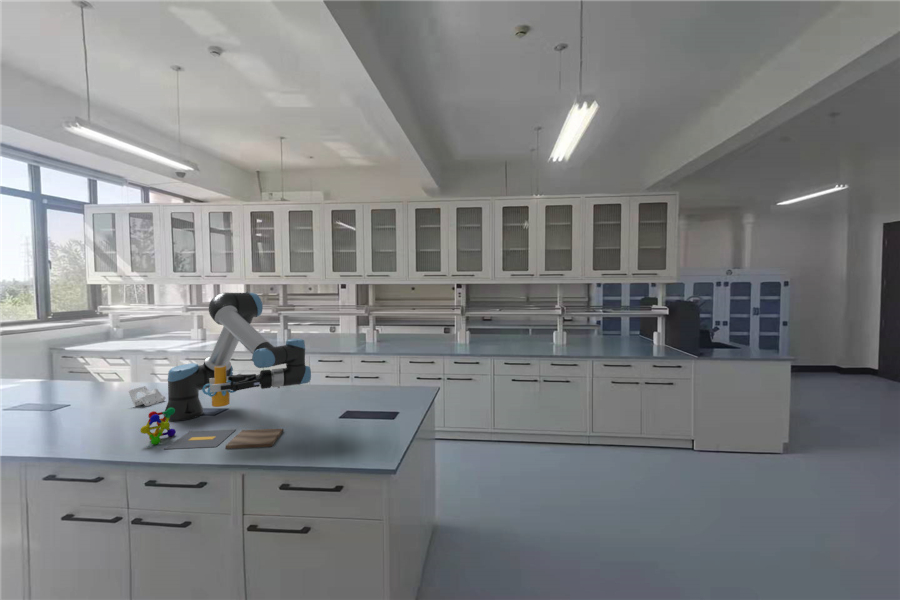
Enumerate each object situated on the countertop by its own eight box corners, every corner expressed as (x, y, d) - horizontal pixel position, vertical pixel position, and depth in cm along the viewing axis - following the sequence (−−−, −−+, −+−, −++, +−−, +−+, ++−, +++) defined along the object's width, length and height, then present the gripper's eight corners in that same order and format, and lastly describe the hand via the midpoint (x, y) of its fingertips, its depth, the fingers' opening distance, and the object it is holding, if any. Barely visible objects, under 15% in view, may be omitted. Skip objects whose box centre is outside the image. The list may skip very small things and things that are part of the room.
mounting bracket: (157, 403, 206) (150, 385, 207) (167, 399, 205) (159, 380, 206) (136, 410, 194) (128, 390, 195) (146, 406, 193) (138, 386, 194)
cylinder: (220, 410, 145) (219, 370, 144) (196, 408, 147) (195, 369, 146) (243, 401, 157) (243, 364, 156) (221, 399, 159) (221, 363, 158)
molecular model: (157, 445, 146) (157, 415, 146) (138, 445, 146) (138, 414, 146) (178, 435, 158) (178, 406, 158) (161, 435, 158) (161, 406, 158)
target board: (242, 433, 160) (242, 430, 160) (283, 431, 162) (283, 428, 162) (225, 448, 144) (225, 445, 144) (271, 446, 146) (271, 443, 146)
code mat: (189, 431, 161) (189, 431, 161) (235, 429, 163) (235, 429, 163) (163, 449, 143) (163, 448, 143) (216, 447, 146) (216, 446, 146)
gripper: (275, 394, 151) (210, 402, 139) (267, 381, 171) (209, 388, 160) (275, 374, 151) (210, 381, 139) (266, 364, 171) (209, 370, 160)
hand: (209, 385), depth 150 cm, fingers closed on cylinder, 12 cm apart
